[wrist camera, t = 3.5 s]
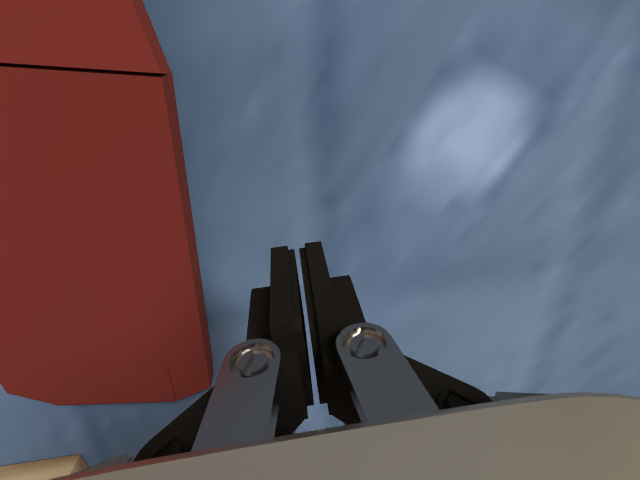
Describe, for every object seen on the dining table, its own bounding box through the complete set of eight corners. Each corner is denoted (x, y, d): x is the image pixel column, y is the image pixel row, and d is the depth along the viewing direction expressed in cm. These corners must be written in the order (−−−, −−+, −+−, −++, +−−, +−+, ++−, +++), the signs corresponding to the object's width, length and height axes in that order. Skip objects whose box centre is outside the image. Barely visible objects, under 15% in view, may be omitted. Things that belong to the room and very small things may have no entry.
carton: (222, 341, 28) (175, -82, 14) (212, 400, 24) (131, -115, 10) (56, 344, 27) (-177, -122, 13) (15, 406, 23) (-394, -179, 9)
